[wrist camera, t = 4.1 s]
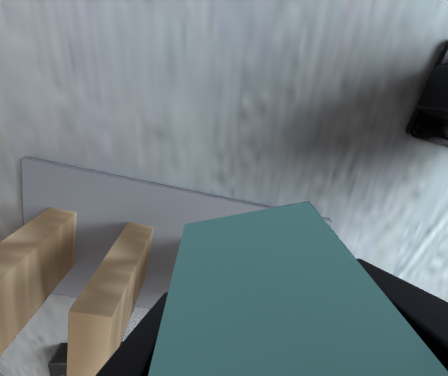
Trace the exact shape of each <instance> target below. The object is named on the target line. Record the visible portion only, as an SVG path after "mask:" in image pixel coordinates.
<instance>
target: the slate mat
mask: <svg viewBox="0 0 448 376" xmlns="http://www.w3.org/2000/svg"><path fill="white" fill-rule="evenodd" d="M21 172H22V199H23V226H24V225H25V224H27V223H28V222H29V221H31V220H32V219H34V218H35V217H37V216H38V215H39V214H41V213H42V212H44V211H45V210H47V209H48V208H49V207H52V208H57V209H63V210H68V211H73V212H77V215H76V240H75V264H74V266H73V267H72V268H71V269H70V271H69V272H68V273H67V274H66V276H65V277H64V278H63V279H62V280H61V282H60V283H59V284H58V285H57V287H56V288H55V289H54V290H53V292H52V293H53V294H59V295H66V296H72V297H79V295H80V294H81V292H82V291H83V289H84V288H85V286H86V285H87V283H88V282H89V280H90V279H91V277H92V276H93V274H94V273H95V271H96V270H97V268H98V267H99V265H100V264H101V262H102V261H103V259H104V258H105V256H106V255H107V253H108V252H109V250H110V249H111V247H112V246H113V244H114V243H115V241H116V240H117V238H118V237H119V235H120V234H121V232H122V231H123V229H124V228H125V226H126V225H127V223H128V222H132V223H138V224H143V225H148V226H154V228H153V234H152V241H151V247H150V254H149V260H148V266H147V273H146V278H145V280H144V283H143V285H142V288H141V291H140V293H139V296H138V299H137V301H136V304H135V306H137V307H144V308H150V309H151V308H152V307H153V306H154V304H155V303H156V302H157V301H158V300H159V298H160V297H161V296H162V295H163V294H164V293H165V292H168V291H169V287H170V283H171V279H172V275H173V270H174V266H175V262H176V258H177V254H178V250H179V246H180V242H181V237H182V233H183V229H184V225H185V224H187V223H192V222H198V221H203V220H209V219H214V218H220V217H225V216H231V215H236V214H242V213H247V212H252V211H258V210H263V209H269V208H274V207H270V206H265V205H260V204H255V203H250V202H246V201H241V200H236V199H231V198H226V197H221V196H216V195H211V194H206V193H201V192H196V191H192V190H187V189H182V188H177V187H172V186H167V185H162V184H157V183H152V182H147V181H142V180H138V179H133V178H128V177H123V176H118V175H113V174H108V173H103V172H98V171H93V170H88V169H84V168H79V167H74V166H69V165H64V164H59V163H54V162H49V161H44V160H39V159H34V158H30V157H24V158H21ZM322 218H323V219H324V220H325V222H326V223H327V224H328V225H329V226H330V225H331V223H332V221H331V220H330V219H329V218H324V217H322Z"/></svg>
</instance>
